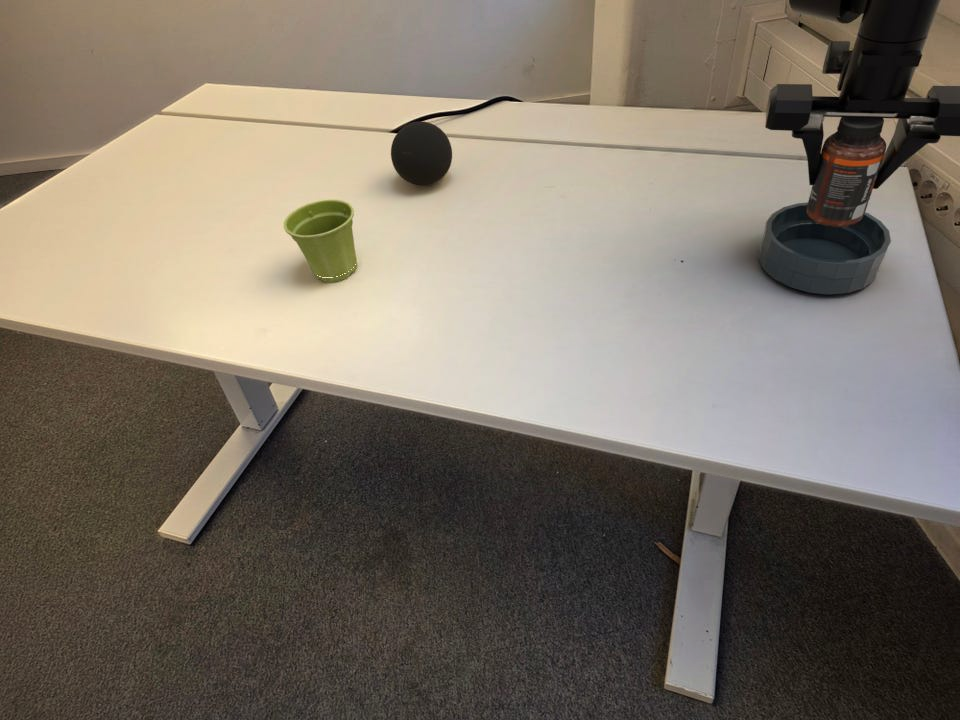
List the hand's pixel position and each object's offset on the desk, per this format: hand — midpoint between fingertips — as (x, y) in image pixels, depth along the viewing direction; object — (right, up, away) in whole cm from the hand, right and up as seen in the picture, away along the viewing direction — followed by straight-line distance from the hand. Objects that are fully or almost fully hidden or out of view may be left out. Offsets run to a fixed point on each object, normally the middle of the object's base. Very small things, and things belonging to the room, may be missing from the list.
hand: (842, 185), depth 68 cm
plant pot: (-61, -7, +19) cm, 64 cm away
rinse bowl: (+1, -8, +8) cm, 11 cm away
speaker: (-50, +11, +35) cm, 62 cm away
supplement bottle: (+1, -3, +3) cm, 4 cm away
